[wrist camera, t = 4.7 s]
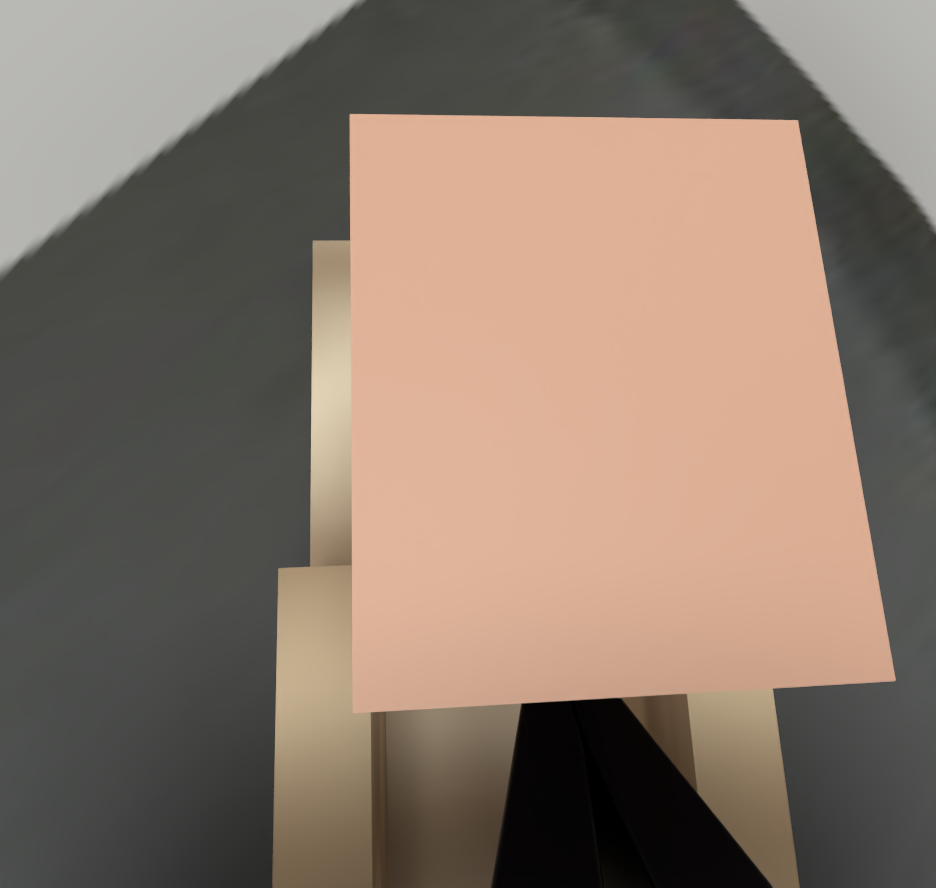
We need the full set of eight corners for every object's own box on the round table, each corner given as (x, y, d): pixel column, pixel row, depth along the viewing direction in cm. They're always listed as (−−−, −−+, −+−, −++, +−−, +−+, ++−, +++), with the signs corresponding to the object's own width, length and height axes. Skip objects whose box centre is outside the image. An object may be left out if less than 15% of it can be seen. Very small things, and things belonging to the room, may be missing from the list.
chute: (702, 981, 15) (854, 1195, 10) (313, 1019, 15) (250, 1271, 9) (626, 257, 19) (706, 132, 14) (318, 258, 19) (277, 127, 13)
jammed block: (600, 620, 16) (895, 680, 6) (396, 630, 15) (351, 713, 6) (580, 386, 17) (797, 120, 7) (391, 390, 17) (349, 113, 7)
